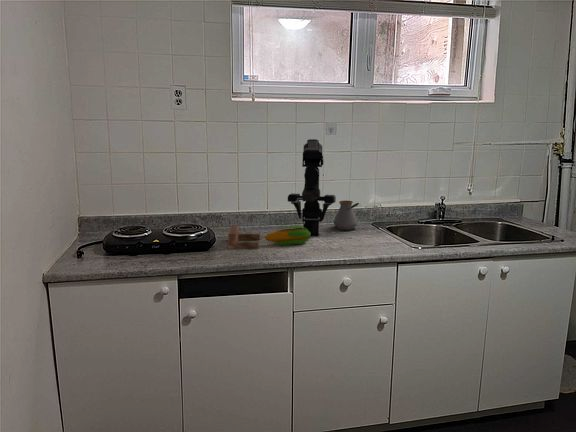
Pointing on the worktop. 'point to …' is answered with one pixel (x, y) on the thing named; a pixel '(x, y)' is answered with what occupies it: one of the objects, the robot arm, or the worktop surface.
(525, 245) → the worktop surface
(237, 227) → the guide bay
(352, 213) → the coffee pot
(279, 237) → the corn
